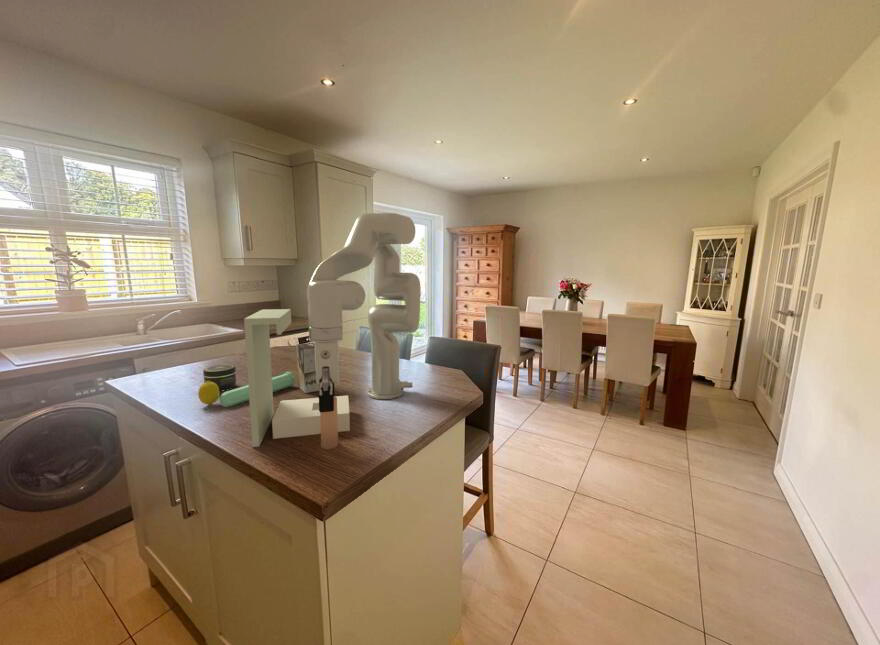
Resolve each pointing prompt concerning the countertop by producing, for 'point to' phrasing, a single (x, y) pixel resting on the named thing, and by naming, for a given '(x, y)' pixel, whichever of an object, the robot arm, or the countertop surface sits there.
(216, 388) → the lemon
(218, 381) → the jar
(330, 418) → the peg
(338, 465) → the countertop surface
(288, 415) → the socket block
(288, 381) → the container
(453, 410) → the countertop surface
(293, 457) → the countertop surface
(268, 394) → the grey hook bracket
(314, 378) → the coffee box
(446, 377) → the countertop surface
